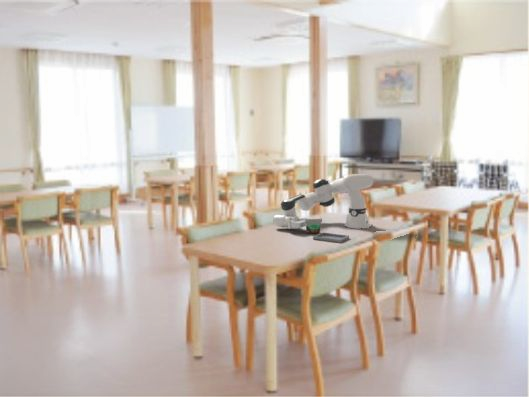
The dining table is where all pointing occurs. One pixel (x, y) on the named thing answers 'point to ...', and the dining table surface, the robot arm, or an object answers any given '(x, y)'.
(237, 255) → the dining table surface
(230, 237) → the dining table surface
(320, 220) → the food container
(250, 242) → the dining table surface
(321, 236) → the tray
